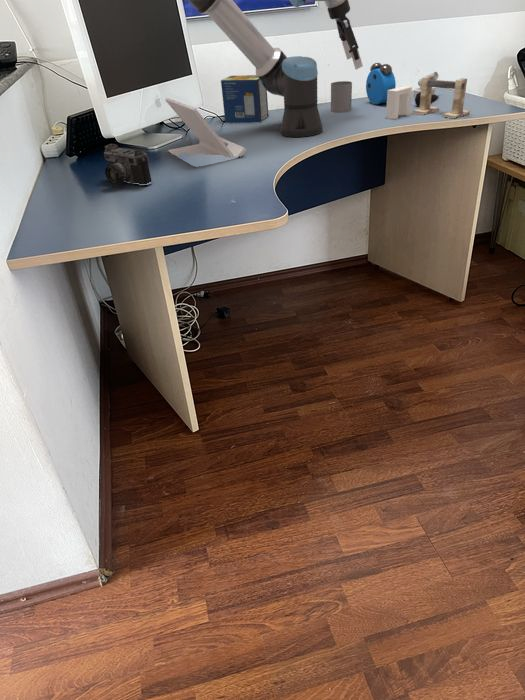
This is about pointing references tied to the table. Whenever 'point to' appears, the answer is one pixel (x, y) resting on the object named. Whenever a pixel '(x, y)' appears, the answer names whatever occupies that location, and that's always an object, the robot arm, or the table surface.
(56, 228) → the table surface
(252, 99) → the protein box
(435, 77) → the wall hook
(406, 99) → the notched white block
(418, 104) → the microphone
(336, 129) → the table surface
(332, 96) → the cup
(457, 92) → the hook stand
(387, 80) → the alarm clock
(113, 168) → the camera
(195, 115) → the tablet stand
